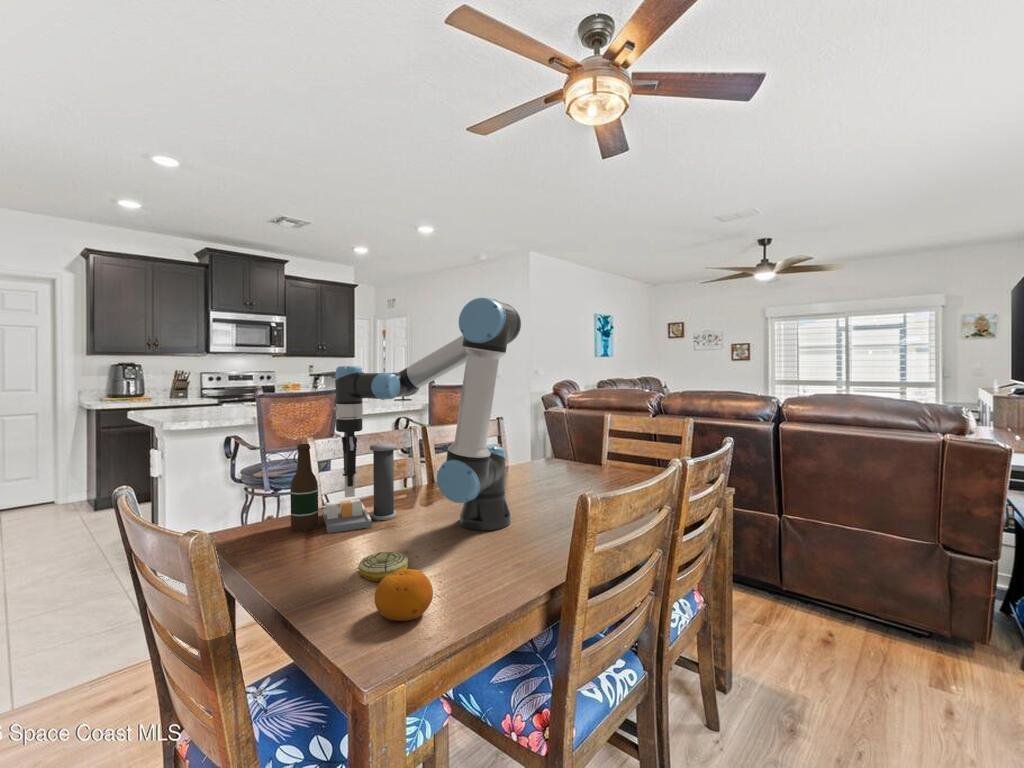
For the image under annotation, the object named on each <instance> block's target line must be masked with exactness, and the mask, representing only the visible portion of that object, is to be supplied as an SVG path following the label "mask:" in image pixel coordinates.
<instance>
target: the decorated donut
mask: <svg viewBox="0 0 1024 768" xmlns="http://www.w3.org/2000/svg"><path fill="white" fill-rule="evenodd" d="M408 566H409V559H408V557H407V555H405V554H404V553H401V552H395V551H381V552H377V553H373V554H369V555H367V556H365V557H363V558H362V559H361V560H360V561H359V563H358V566H357V569H358V570H359V574H360V576H362V577H364V578H363V579H366V580H367V581H371V582H381V580H383V579H384V578H385V577H386V576H388V575H390V574H392V573H395V572H396V571H399V570H404V569H408Z"/></svg>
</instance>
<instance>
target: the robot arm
mask: <svg viewBox="0 0 1024 768" xmlns="http://www.w3.org/2000/svg"><path fill="white" fill-rule="evenodd" d="M520 316H521V315H520V314H519V312H518V311H517V310H516V309H515V308H514V307H513V306H512V305H510V304H507V303H505V302H502V301H500V300H497V299H496V298H492V297H476V298H474V299H472V300H470V301H469V302H468V303H466V304H465V305H464V306H463V308H462V309H461V311H460V314H459V316H458V328H459V332H461V335H460V336H459V337H457V338H455V339H454V340H452V341H449V343H446V344H444V345H443V346H441V347H439V348H438V349H437V350H435V351H432V352H431V353H429V354H428V355H426V356H424V357H422V358H421V359H419V360H417V361H416V362H414V363H413V364H411V365H409V366H408V367H405V368H403V369H402V370H401V371H398V372H363V368H362V366H359V365H358V366H357V365H356V366H355V365H348V366H347V365H339V366H337V367H336V369H335V379H334V382H335V383H334V385H335V386H334V387H335V406H334V407H333V410H334V411H335V417H337V418H336V419H335V431H336V432H337V433H343V437H341V443H342V451H343V473H342V476H343V477H344V498H352V497H355V496H356V495H355V494H356V493H355V492H356V491H355V490H356V489H355V485H356V483H355V482H356V481H355V475H356V474H357V471H356V470H357V469H356V468H357V467H356V465H357V461H356V460H357V447H358V444H357V443H358V437H357V436H355V432H361V431H362V430H363V419H362V417H363V415H364V414H363V410H364V409H363V399H369V400H370V399H372V400H382V401H384V400H394V399H395V398H399V397H400V398H401V397H405V398H407V397H410V396H414V395H415V394H417V393H418V392H419V389H420V388H422V387H424V386H426V385H428V384H430V383H432V382H433V381H434V380H435V381H436V380H438V378H441V377H443V376H444V375H446V374H448V373H450V372H451V371H453V370H454V369H457V368H458V367H460V366H463V365H464V364H465V365H464V372H463V373H464V374H463V380H462V387H461V394H460V400H459V409H458V413H457V415H458V416H457V423H456V427H455V428H456V430H455V436H454V442H453V443H452V444H450V445H449V446H448V447H447V451H446V453H447V454H446V458H445V462H444V463H443V464H441V466H440V467H439V469H438V470H437V473H436V483H437V487H438V489H439V491H440V492H441V493H442V495H443V497H445V498H446V499H447V500H448V501H450V502H452V503H456V504H463V505H462V508H461V511H460V514H459V524H460V526H462V527H464V528H465V529H470V530H474V531H493V530H499V529H504V528H506V527H508V526H509V525H510V524H511V523H512V522H511V521H512V519H511V517H512V516H511V515H512V514H511V511H510V509H509V504H508V502H507V499H506V460H507V458H506V450H505V448H503V446H498V445H497V446H495V445H487V442H488V436H489V429H490V422H491V417H492V415H491V414H492V409H493V401H494V397H495V396H494V395H495V388H496V382H497V376H498V375H497V374H498V369H499V361H500V359H501V358H502V357H503V356H504V355H506V353H507V347H508V345H509V344H510V343H512V342H513V341H514V340H515V339H516V338H517V337H518V336H519V335H520V331H521V329H522V319H521V317H520Z"/></svg>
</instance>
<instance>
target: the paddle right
mask: <svg viewBox="0 0 1024 768" xmlns="http://www.w3.org/2000/svg"><path fill="white" fill-rule="evenodd" d="M350 501H351V503H352V516H359V515H362V503H363V502H362V500H361V499H359V498H358V499H350Z"/></svg>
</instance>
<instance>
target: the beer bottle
mask: <svg viewBox="0 0 1024 768" xmlns="http://www.w3.org/2000/svg"><path fill="white" fill-rule="evenodd" d="M296 449H297V464H296V465H297V467H296V471H295V474H294V475H293V477H292V478H291V482H290V489H289V491H290V527H291V531H292V530H294V531H293V532H298V531H302V532H306V531H305V530H310V531H312V530H311V529H313V530H315V529H317V528H318V527H319V485H318V480H317V478H316V476H315V474H314V472H313V471H312V466H311V452H310V449H311V444H310V443H299V444H297V447H296ZM316 527H317V528H316ZM314 528H315V529H314Z"/></svg>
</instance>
